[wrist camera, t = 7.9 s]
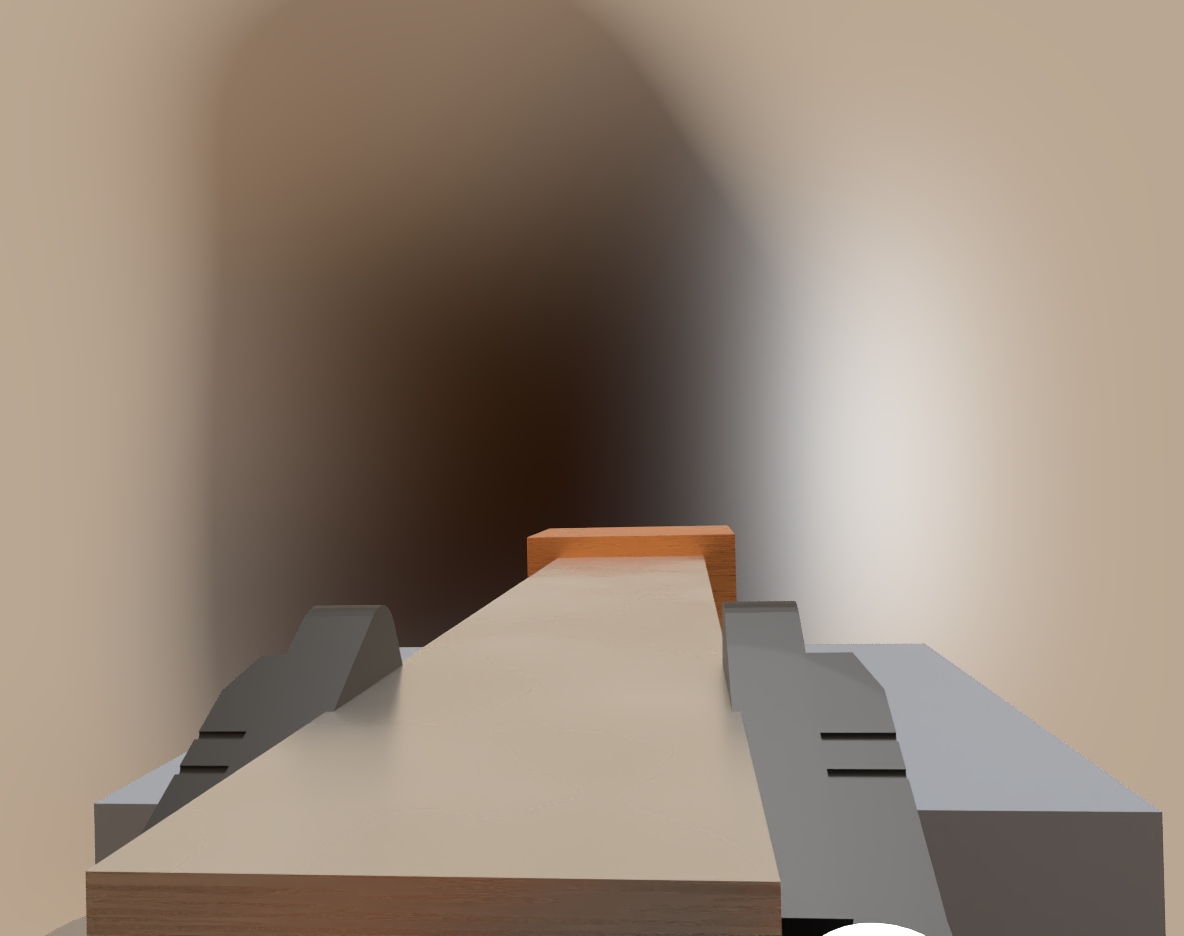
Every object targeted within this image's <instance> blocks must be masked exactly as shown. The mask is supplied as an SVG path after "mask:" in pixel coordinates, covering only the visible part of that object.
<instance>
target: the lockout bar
mask: <svg viewBox="0 0 1184 936" xmlns="http://www.w3.org/2000/svg"><path fill="white" fill-rule="evenodd" d="M527 556H528V578H527V579H526V580H524V581H523V582H521V583H520V584H518V585H517V586H515V587H514V588H512V589H511V590H509V591H507V592H506V593H504V594H503V595H501V596H500V597H499V598H497V599H495V600H494V601H492V602H491V603H490V604H488V605H486V606H485V607H484V608H482V609H480V610H479V611H477V612H476V613H475V614H473V615H471V616H470V617H468V618H467V619H465V620H464V621H462V622H461V623H459V624H458V625H456V626H455V627H453V628H452V629H450V630H449V631H447V632H446V633H444V634H443V635H441V636H440V637H438V638H437V639H435V640H434V641H432V642H431V643H429V644H428V645H426V646H425V647H423V648H422V649H420V650H419V651H417V652H416V653H414V654H413V655H411V656H409V657H408V658H406V659H405V660H403V661H402V664H403V665H402V666H400V667H399V668H397V669H396V670H394V671H393V672H391V673H390V674H388V675H387V676H385V677H384V678H383V679H381V680H380V681H378V682H377V683H375V684H374V685H372V686H371V687H369V688H368V689H366V690H365V691H363V692H362V693H360V694H359V695H357V696H356V697H355V698H353V699H352V700H350V701H349V702H347V703H346V704H344V705H343V706H341V707H340V708H338V709H337V710H335V711H334V712H325V713H324V714H322V715H321V716H319V717H318V718H316V719H315V720H313V721H312V722H310V723H308V724H307V725H305V726H304V727H302V728H301V729H299V730H298V731H296V732H295V733H293V734H292V735H290V736H289V737H287V738H286V739H284V740H283V741H281V742H280V743H278V744H277V745H275V746H274V747H272V748H271V749H269V750H268V751H266V752H265V753H263V754H262V755H260V756H259V757H257V758H256V759H254V760H253V761H251V762H250V763H248V764H247V765H245V766H244V767H242V768H241V769H239V770H238V771H236V772H235V773H233V774H232V775H230V776H229V777H227V778H226V779H224V780H223V781H221V782H220V783H218V784H217V785H215V786H214V787H212V788H210V789H209V790H207V791H206V792H204V793H203V794H201V795H200V796H198V797H197V798H195V799H194V800H192V801H191V802H189V803H188V804H186V805H185V806H183V807H182V808H180V809H179V810H177V811H176V812H174V813H173V814H171V815H170V816H168V817H167V818H165V819H164V820H162V821H161V822H159V823H158V824H156V825H155V826H153V827H152V828H150V829H149V830H147V831H146V832H144V833H143V834H141V835H140V836H138V837H137V838H135V839H134V840H132V841H131V842H129V843H128V844H126V845H125V846H123V847H122V848H120V849H119V850H117V851H116V852H114V853H112V854H111V855H109V856H108V857H106V858H105V859H103V860H102V861H100V862H99V863H97V864H96V865H94V866H93V867H91V868H90V869H89V870H87V871H86V923H87V936H782V923H781V882H780V878H779V873H778V869H777V865H776V861H775V856H774V852H773V848H772V844H771V839H770V835H769V831H768V827H767V823H766V818H765V814H764V810H763V806H762V801H761V797H760V793H759V789H758V784H757V780H756V776H755V772H754V767H753V763H752V759H751V755H750V750H749V746H748V742H747V738H746V733H745V729H744V725H743V721H742V716H741V712H732V709H731V704H730V699H729V694H728V689H727V684H726V679H725V674H724V669H723V664H722V608H723V602H736V566H735V534H734V533H733V532H732V530H731V529H730V528H729V527H728V526H677V527H676V526H674V527H673V526H672V527H619V528H566V529H565V528H563V529H562V528H561V529H548V530H545V531H543V532H540V533H538V534H535V535H533V536H530V537H528V538H527Z"/></svg>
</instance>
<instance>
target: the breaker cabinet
mask: <svg viewBox="0 0 1184 936" xmlns="http://www.w3.org/2000/svg"><path fill="white" fill-rule="evenodd" d="M804 646H805V651H806V653H830V652H853V654H854V655H855V656H856V657H857V658H858V659H859V660H860V662H861V663H862V664H863V665H864V666H865V667H866V669H867V670H868V671H869V672H870V673H871V674H872V675H873V677H874V678H875V679H876V680H877V681H878V682H879V683H880V685H881V686H882V687H883V688H884V690H885V693H886V697H887V701H888V704H889V708H890V712H891V715H892V719H893V723H894V726H895V730H896V740H897V741H899V745H900V749H901V752H902V756H903V760H904V763H905V767H906V777H907V779H909V782H910V785H911V789H912V793H913V796H914V800H915V804H916V807H917V811H918V815H919V819H920V822H921V826H922V830H923V833H924V837H925V841H926V844H927V848H928V852H929V855H930V859H931V863H932V866H933V870H934V874H935V877H936V881H937V885H938V888H939V892H940V896H941V900H942V903H943V907H944V911H945V914H946V918H947V922H948V925H949V927H950V930H951V933H952V936H1166V934H1165V898H1164V863H1163V827H1162V812H1161V811H1160V810H1158V809H1157V808H1156V807H1154V806H1153V805H1151V804H1150V803H1148V802H1147V801H1146V800H1144V799H1143V798H1141V797H1140V796H1139V795H1137V794H1136V793H1134V792H1133V791H1132V790H1130V789H1129V788H1127V787H1126V786H1124V785H1123V784H1122V783H1120V782H1119V781H1118V780H1116V779H1115V778H1113V777H1112V776H1110V775H1109V774H1108V773H1106V772H1105V771H1103V770H1102V769H1100V768H1099V767H1098V766H1096V765H1095V764H1094V763H1092V762H1091V761H1089V760H1088V759H1087V758H1085V757H1084V756H1082V755H1081V754H1079V753H1078V752H1077V751H1075V750H1074V749H1072V748H1071V747H1070V746H1068V745H1067V744H1065V743H1064V742H1062V741H1061V740H1060V739H1058V738H1057V737H1055V736H1054V735H1053V734H1051V733H1050V732H1048V731H1047V730H1046V729H1044V728H1043V727H1041V726H1040V725H1038V724H1037V723H1036V722H1034V721H1033V720H1031V719H1030V718H1029V717H1027V716H1026V715H1024V714H1023V713H1022V712H1020V711H1019V710H1017V709H1016V708H1015V707H1013V706H1012V705H1010V704H1009V703H1008V702H1006V701H1004V700H1003V699H1002V698H1000V697H999V696H998V695H996V694H995V693H993V692H992V691H991V690H989V689H988V688H986V687H985V686H984V685H982V684H981V683H979V682H978V681H976V680H975V679H974V678H972V677H971V676H969V675H968V674H967V673H965V672H964V671H962V670H961V669H960V668H958V667H957V666H955V665H954V664H953V663H951V662H950V661H948V660H947V659H945V658H944V657H943V656H941V655H940V654H938V653H937V652H936V651H934V650H933V649H931V648H930V647H929V646H927V645H926V644H835V645H834V644H825V645H822V644H820V645H804ZM399 649H400V654H401V659H402V661H403V660H405V659H406V658H408V657H409V656H411V655H413V654H414V653H416V652H417V651H419V650H420V649H422V647H419V648H417V647H416V648H415V647H413V648H412V647H410V648H399ZM186 753H187V752H186ZM186 753H184V754H182V755H180V756H179V757H177V758H175V759H173V760H171V761H170V762H168V763H166V764H164V765H162V766H161V767H159V768H157V769H155V770H154V771H152V772H150V773H148V774H146V775H145V776H143V777H141V778H139V779H137V780H136V781H134V782H132V783H130V784H129V785H127V786H125V787H123V788H121V789H120V790H118V791H116V792H114V793H112V794H110V795H109V796H107V797H105V798H103V799H102V800H100V801H98V802H96V803H95V804H94V817H95V865H96V864H97V863H99V862H100V861H102V860H103V859H105V858H106V857H108V856H109V855H111V854H112V853H114V852H116V851H117V850H119V849H120V848H122V847H123V846H125V845H126V844H128V843H129V842H131V841H132V840H134V839H135V838H137V837H138V836H140V835H141V833H142V831H143V829H144V827H145V826H146V824H147V822H148V820H149V819H150V817H151V815H152V813H153V812H154V810H155V808H156V806H157V805H158V803H159V801H160V799H161V798H162V796H163V794H164V792H165V790H166V789H167V787H168V785H169V783H170V782H171V780H172V778H173V776H174V775H175V774H179V772H180V764H181V762H182V761H183V759H184V757H185V755H186Z"/></svg>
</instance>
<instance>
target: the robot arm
mask: <svg viewBox="0 0 1184 936" xmlns="http://www.w3.org/2000/svg"><path fill="white" fill-rule="evenodd" d="M722 664H723V669H724V674H725V679H726V684H727V689H728V694H729V699H730V704H731V709H732V712H741V716H742V721H743V725H744V729H745V733H746V738H747V742H748V746H749V750H750V755H751V759H752V763H753V767H754V772H755V776H756V780H757V784H758V789H759V793H760V797H761V801H762V806H763V810H764V814H765V818H766V823H767V827H768V831H769V835H770V839H771V844H772V848H773V852H774V856H775V861H776V865H777V869H778V873H779V878H780V882H781V923H782V936H952V933H951V930H950V927H949V925H948V922H947V918H946V914H945V911H944V907H943V903H942V900H941V896H940V892H939V888H938V885H937V881H936V877H935V874H934V870H933V866H932V863H931V859H930V855H929V852H928V848H927V844H926V841H925V837H924V833H923V830H922V826H921V822H920V819H919V815H918V811H917V807H916V804H915V800H914V796H913V793H912V789H911V785H910V782H909V779H907V777H906V767H905V763H904V760H903V756H902V752H901V749H900V745H899V741H897V740H896V730H895V726H894V723H893V719H892V715H891V712H890V708H889V704H888V701H887V697H886V693H885V690H884V688H883V687H882V686H881V685H880V683H879V682H878V681H877V680H876V679H875V678H874V677H873V675H872V674H871V673H870V672H869V671H868V670H867V669H866V667H865V666H864V665H863V664H862V663H861V662H860V660H859V659H858V658H857V657H856V656H855V655H854V654H853V652H830V653H806V651H805V646H804V640H803V635H802V629H801V623H800V618H799V612H798V608H797V604H796V602H795V601H762V602H761V601H758V602H723V608H722ZM402 665H403V664H402V659H401V654H400V649H399V644H398V640H397V635H396V630H395V625H394V621H393V618H392V615H391V612H390V610H389V609H388V608H387V607H386V606H384V605H365V606H364V605H359V606H356V605H355V606H314V607H313V608H311V609H310V610H309V611H308V613H307V614H306V616H305V618H304V620H303V622H302V624H301V626H300V628H299V630H298V632H297V634H296V636H295V638H294V640H293V642H292V643H291V645H290V647H289V650H288V651H287V653H286V655H285V656H260V657H259V658H258V659H257V660H256V661H255V662H254V663H253V664H252V665H250V666H249V667H248V668H247V669H246V670H245V671H244V672H243V673H241V674H240V675H239V676H238V677H237V678H236V679H235V680H234V681H232V682H231V683H230V684H229V685H228V686H227V687H226V688H225V689H223V690H222V692H221V694H220V695H219V697H218V699H217V701H216V702H215V704H214V706H213V708H212V709H211V711H210V713H209V715H208V716H207V718H206V720H205V722H204V724H203V725H202V727H201V729H200V731H199V733H200V734H199V739H198V740H194V741H193V743H192V745H191V747H190V748H189V750H188V752H187V753H186V755H185V757H184V759H183V761H182V762H181V764H180V772H179V774H175V775H174V776H173V778H172V780H171V782H170V783H169V785H168V787H167V789H166V790H165V792H164V794H163V796H162V798H161V799H160V801H159V803H158V805H157V806H156V808H155V810H154V812H153V813H152V815H151V817H150V819H149V820H148V822H147V824H146V826H145V827H144V829H143V831H142V833H141V834H143V833H144V832H146V831H147V830H149V829H150V828H152V827H153V826H155V825H156V824H158V823H159V822H161V821H162V820H164V819H165V818H167V817H168V816H170V815H171V814H173V813H174V812H176V811H177V810H179V809H180V808H182V807H183V806H185V805H186V804H188V803H189V802H191V801H192V800H194V799H195V798H197V797H198V796H200V795H201V794H203V793H204V792H206V791H207V790H209V789H210V788H212V787H214V786H215V785H217V784H218V783H220V782H221V781H223V780H224V779H226V778H227V777H229V776H230V775H232V774H233V773H235V772H236V771H238V770H239V769H241V768H242V767H244V766H245V765H247V764H248V763H250V762H251V761H253V760H254V759H256V758H257V757H259V756H260V755H262V754H263V753H265V752H266V751H268V750H269V749H271V748H272V747H274V746H275V745H277V744H278V743H280V742H281V741H283V740H284V739H286V738H287V737H289V736H290V735H292V734H293V733H295V732H296V731H298V730H299V729H301V728H302V727H304V726H305V725H307V724H308V723H310V722H312V721H313V720H315V719H316V718H318V717H319V716H321V715H322V714H324V713H325V712H334V711H335V710H337V709H338V708H340V707H341V706H343V705H344V704H346V703H347V702H349V701H350V700H352V699H353V698H355V697H356V696H357V695H359V694H360V693H362V692H363V691H365V690H366V689H368V688H369V687H371V686H372V685H374V684H375V683H377V682H378V681H380V680H381V679H383V678H384V677H385V676H387V675H388V674H390V673H391V672H393V671H394V670H396V669H397V668H399V667H400V666H402ZM46 936H87V923H86V916H85V917H82V918H80V919H77V920H74V921H72V922H70V923H68V924H66V925H64V926H62V927H59V928H57V929H55V930H54V931H52V932H51V933H49V934H47V935H46Z"/></svg>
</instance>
